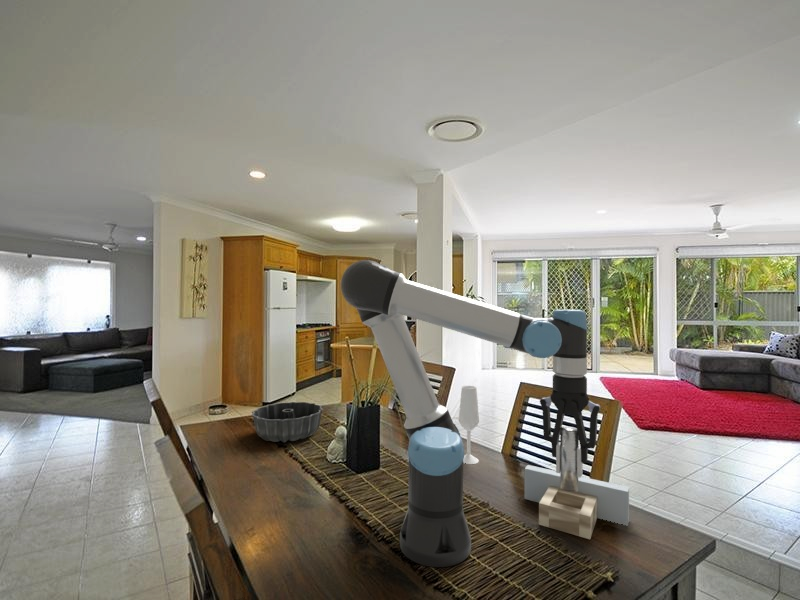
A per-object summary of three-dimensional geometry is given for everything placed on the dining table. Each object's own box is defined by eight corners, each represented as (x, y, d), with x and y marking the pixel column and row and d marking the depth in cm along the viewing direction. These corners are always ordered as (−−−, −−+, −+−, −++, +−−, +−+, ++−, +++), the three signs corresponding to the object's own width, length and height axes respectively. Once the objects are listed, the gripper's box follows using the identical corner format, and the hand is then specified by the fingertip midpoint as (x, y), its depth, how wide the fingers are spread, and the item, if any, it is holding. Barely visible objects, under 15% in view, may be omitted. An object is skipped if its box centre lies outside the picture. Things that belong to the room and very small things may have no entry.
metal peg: (576, 493, 95) (576, 432, 95) (558, 489, 97) (558, 429, 97) (579, 487, 98) (580, 428, 98) (562, 482, 100) (562, 425, 100)
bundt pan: (235, 443, 150) (236, 415, 150) (276, 422, 175) (277, 399, 175) (300, 451, 142) (300, 422, 142) (333, 428, 167) (333, 404, 167)
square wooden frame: (590, 539, 90) (590, 516, 90) (538, 524, 96) (538, 503, 96) (597, 517, 99) (597, 496, 99) (549, 505, 105) (549, 485, 105)
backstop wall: (627, 526, 96) (628, 491, 96) (524, 498, 109) (524, 468, 109) (628, 520, 98) (629, 487, 98) (527, 494, 111) (527, 464, 111)
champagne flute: (478, 456, 138) (478, 385, 138) (479, 464, 132) (480, 389, 132) (457, 455, 139) (458, 384, 139) (458, 463, 132) (459, 388, 132)
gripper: (611, 375, 96) (611, 475, 96) (537, 369, 105) (536, 460, 105) (607, 380, 90) (607, 488, 90) (528, 373, 99) (528, 470, 99)
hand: (569, 472), depth 98 cm, fingers closed on metal peg, 4 cm apart
